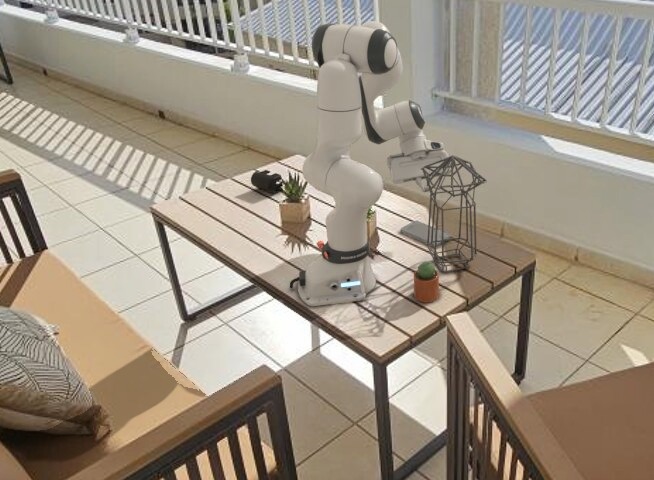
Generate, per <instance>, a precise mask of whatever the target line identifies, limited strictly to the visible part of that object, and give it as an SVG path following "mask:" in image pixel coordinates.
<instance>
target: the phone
mask: <svg viewBox="0 0 654 480" xmlns="http://www.w3.org/2000/svg"><path fill="white" fill-rule="evenodd" d="M435 232H436V227H434V230H433V241H435ZM400 233H401V234H403V235H405V236H408V237H410V238H412V239H414V240H417V241H419V242H421V243H422V244H426V245H427V238H428V223H425V222H421V221H420V220H414V221H412V222H410V223H408V224H406V225H405V226H402V227H401V228H400ZM431 234H432V225H430V234H429V243H430V242H431ZM451 238H452V235H451V233H448V232H446V231H444V239H451ZM437 240H442V229H441V230H440V229H438V230H437ZM447 242H448V241H444V244H445V243H447ZM433 245H434V247H435V242H434V243H433ZM441 246H442V242H437V246H436V248H439V247H441ZM429 247H432V248H433V246H432V244H430V245H429Z"/></svg>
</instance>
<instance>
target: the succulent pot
mask: <svg viewBox="0 0 654 480" xmlns="http://www.w3.org/2000/svg"><path fill="white" fill-rule="evenodd" d="M413 297H414V298H415V300H416V301H418V302H421V303H433V302H436V301H437V300H438V298H439V297H440V273H439V272H438V270H436V269H435V266H434V264H433V263H432V262H429V261H423V262H421V263H420V264H419V265H418V267H417V270H415V271H414V272H413Z"/></svg>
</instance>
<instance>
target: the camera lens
mask: <svg viewBox="0 0 654 480" xmlns="http://www.w3.org/2000/svg"><path fill="white" fill-rule="evenodd" d="M270 173H271V171H270V170H268V169H265V170H262V171H260V172H259V171H254V172H253V173H252V175H251V177H250V184H251V185H252V186H253V187H255V188H257V189H259V190H263V191H265V192H268V193H271V194H273V195H274V194H277V193H279V192H281V191H283V190H284V189H283V182H282V181H281V180H282V175H281V174H280V173H276V172H275V173H273V174H270ZM280 181H281V182H280ZM277 182H279V183H277Z"/></svg>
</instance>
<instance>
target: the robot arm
mask: <svg viewBox="0 0 654 480" xmlns="http://www.w3.org/2000/svg"><path fill="white" fill-rule="evenodd" d="M399 49H400V48H399V47H398V43H397V41H396V38H395V37H394V35H392V33H391V31H390V30H389V29H388V27H387V26H386V25H385V24H384V23H382V22H381V21H376V20H370V21H366V22H365V23H362V24H361V25H358V24H346V23H342V24H341V23H340V24H336V23H332V22H331V23H325V24H321V25H319V26H318V27H317V28H316V30H315V31H314V33H313V35H312V38H311V51H312V56H313V58H314V60H315V62H316V64H317V66H318V68H319V70H318V75H317V83H316V112H317V116H316V117H317V136H316V137H317V138H316V143H315V146H314V149H313V151H312V152H311V153H309V154H308V155H307V156H306V157H305V159H304V161H303V164H302V176H303V178H304V180H305V181H306V182H307V183H308V184H309V185H310V186H311V187H312V188H314V189H315V190H316V191H319V192H321V193H323V194H325V195H327V196H330V197H332V198H333V201H334V203H335V204H334V205H335V206H334V208H333V209H332V210H330V211H329V213H328V214H327V215H326V217H325V228H326V238H327V241H326V242H324V241H323V240H318V241H317V242H316V246H317V248H318V250H320V251H321V254H320V255H319V256H318V257H317V258H316V259H314V260H313V261H312V262H311V263H310V264H308V265H307V266H306V268H305V270H300V271H298V277H295V278H293V279H292V280H290V282H289V288H290V289H293V288H294V284H295V283H296V282H298V284H297V291H298V295H299V297H300V299H301V300H302V302H303V303H304V304H306V305H308V306H309V307H319V306H326V305H335V304H342V303H343V304H344V303H352V302H360V301H364V299H365V298H366V296H367V294H368V293H370V292H372V290H373V289H374V288H375V286H376V285H377V278H376V276H375V274H374V272H373V269H372V264H371V259H370V257H371V245H370V244H371V243H370V239H369V238H368V232H367V231H368V228H367V217H368V212H369V209H370V208H371V207H372V206H374V205H375V204H376V203H377V202H378V201H379V200H380V199H381V197H382V194H383V191H384V181H383V178H382V176H381V175H380V174H379V172H377V171H376V170H374V169H373V168H372V167H370V166H369V165H367V164H364V163H362V162H359V161H356V160H354V159H352V158H351V157H350V152H351V147H352V145H354V144H355V143H357V142H358V141H359V140H360V139H361V137H362V135H363V131H364V135H365V136H366V139H367V140H368V141H369V142H371V143H373V144H376V145H381V144H384V143H386V142H388V141H390V140H393V139H397V138H398V140H399V147H400V148H399V149H400V152H401V153H397V154H390V155H389V156H387V158H386V161H385V162H386V167H388V169H389V175H390V181H391V183H392V184H394V185H397V184H403V183H410V182H414V181H415V184H416V185H417V186H418V187H419V188H420V190H421V193H428V192H430V189H429V186H427V184H424V183H423V182H422V180H426V178H425V176H424V173H423V171H422V170H420V169H421V168H423V167H424V166H426V165H429V164H431V163H434V162H437V161H440V160H443V159H445V158H448V157H450V155H449V154H448V152H447V151H446V150H444V147H445V146H444V143H443V142H441V141H433V140H429V139H427V137H426V135H425V134H424V127H425V124H426V122H425V120H424V119H425V118H424V116H423V112H422V107H421V106H420V104H418V102H415V101H413V100H410V99H409V100H402V101H399V102H397V103H395V104H392V105H390V106H387V107H383V108H380V109H375V101H376V99H377V98H379V97H380V96H381V95H382V94H384V93H386V92H388V90H391V89H393V87H395V85H397V83H398V82H399V81H400V79H401V77H402V75H403V72H404V65H403V64H404V63H403V58H402V55H401V52H400V50H399ZM359 73H361V74H360V75H359ZM443 162H444V161H443ZM443 162H440V163H437V164H434V165H432V166H439V165H441V164H442V163H443ZM450 164H451V163H450ZM450 164H449V166H450ZM424 169H425V170H426V171H427V172H428V173H429V174H430V173H431V172H433V171H431V170H429V169H426V168H424ZM431 169H433V170H435V169H436V168H431ZM447 170H448V168H447V169H446V170H445V172H444V175H445V174H446V172H447ZM442 171H443V169H441V170H440V171H439V173H442ZM434 174H435V172H434V173H433V174H432V175H431V176H430V178H431V177H432V176H433V175H434ZM447 175H451V168H450V169H449V171H448V173H447ZM426 176H427V174H426ZM439 176H440V175H439V174H436V176H435V177H434V178H439ZM428 180H429V179H428ZM431 181H432V182H433V179H432V180H431ZM429 183H430V182H429ZM430 186H431V187H432V185H431V183H430Z"/></svg>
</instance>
